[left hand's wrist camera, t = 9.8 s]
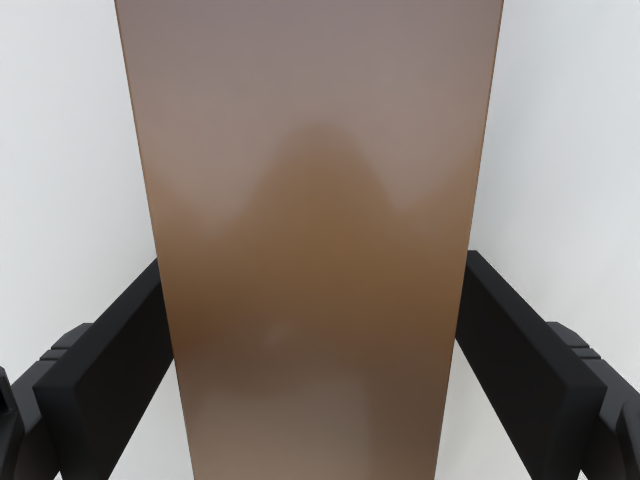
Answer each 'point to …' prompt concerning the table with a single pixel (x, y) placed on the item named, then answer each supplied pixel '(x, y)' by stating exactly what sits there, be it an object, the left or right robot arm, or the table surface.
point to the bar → (311, 220)
